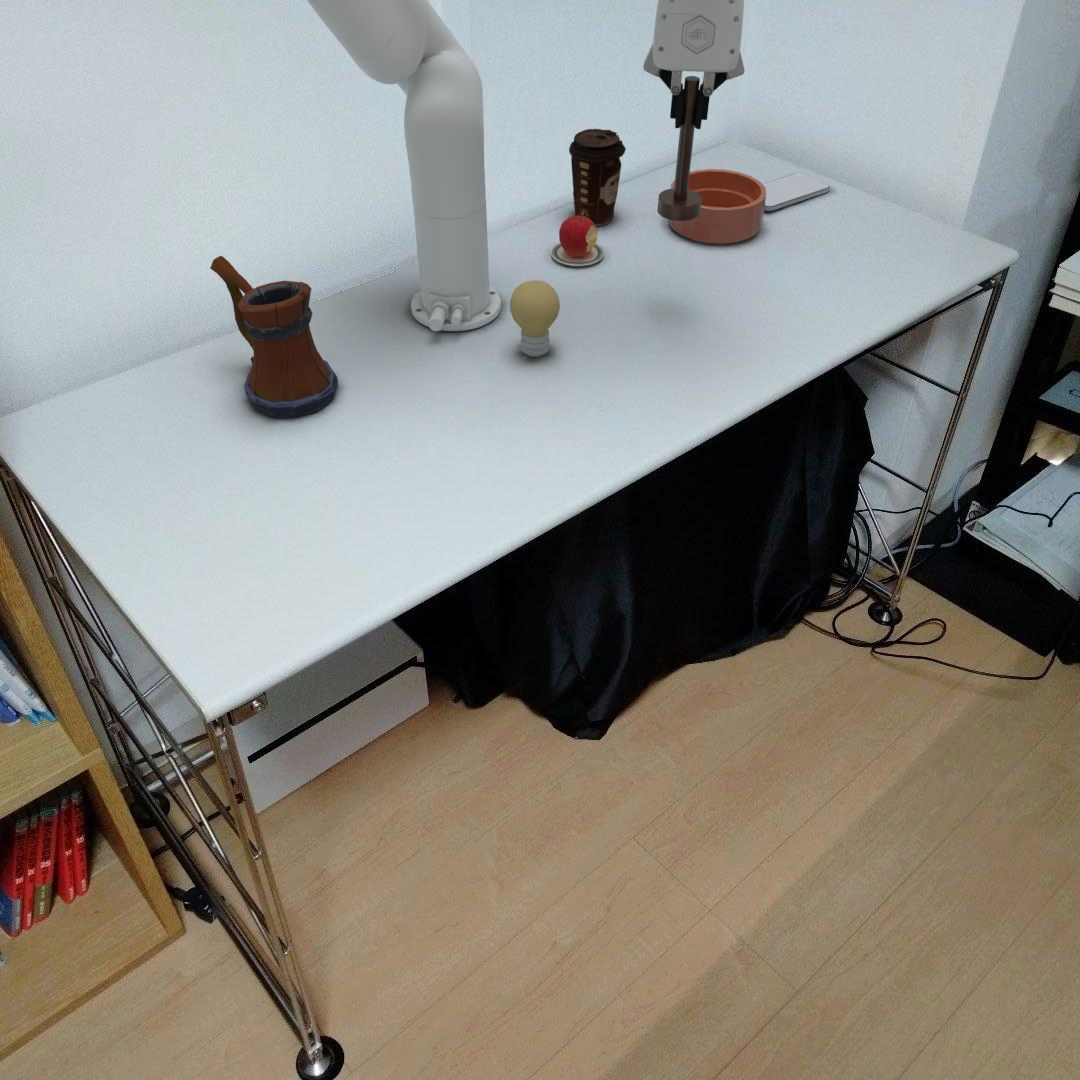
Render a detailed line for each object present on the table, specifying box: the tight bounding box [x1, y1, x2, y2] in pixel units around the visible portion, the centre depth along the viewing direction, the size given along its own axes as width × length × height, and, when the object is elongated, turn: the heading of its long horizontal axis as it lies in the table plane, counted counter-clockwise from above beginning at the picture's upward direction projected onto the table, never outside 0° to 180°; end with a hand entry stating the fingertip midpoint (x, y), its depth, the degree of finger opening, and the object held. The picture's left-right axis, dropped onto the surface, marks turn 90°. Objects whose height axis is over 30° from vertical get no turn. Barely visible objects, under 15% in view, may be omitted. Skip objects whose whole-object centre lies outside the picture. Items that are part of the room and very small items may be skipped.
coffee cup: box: [568, 128, 627, 227], centre depth 162 cm, size 9×8×13 cm
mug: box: [210, 255, 339, 418], centre depth 127 cm, size 18×12×15 cm, turn 45°
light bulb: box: [509, 279, 561, 358], centre depth 134 cm, size 6×6×10 cm
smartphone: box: [762, 172, 830, 212], centre depth 172 cm, size 7×1×15 cm
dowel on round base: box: [657, 75, 702, 221], centre depth 131 cm, size 6×6×17 cm
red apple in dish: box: [550, 212, 605, 267], centre depth 155 cm, size 8×8×6 cm
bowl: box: [667, 168, 766, 245], centre depth 162 cm, size 15×15×6 cm
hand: (687, 123), depth 129 cm, fingers closed on dowel on round base
